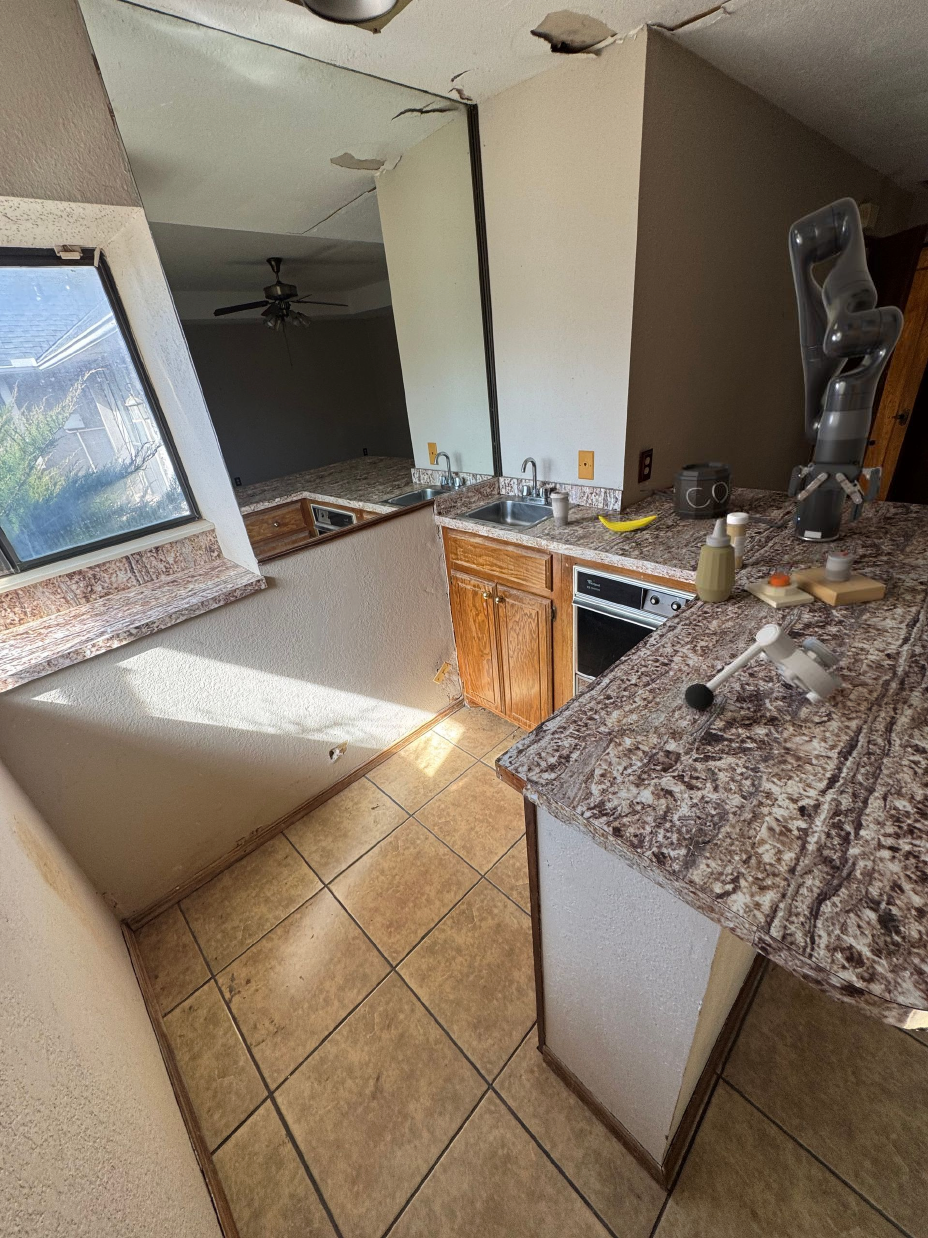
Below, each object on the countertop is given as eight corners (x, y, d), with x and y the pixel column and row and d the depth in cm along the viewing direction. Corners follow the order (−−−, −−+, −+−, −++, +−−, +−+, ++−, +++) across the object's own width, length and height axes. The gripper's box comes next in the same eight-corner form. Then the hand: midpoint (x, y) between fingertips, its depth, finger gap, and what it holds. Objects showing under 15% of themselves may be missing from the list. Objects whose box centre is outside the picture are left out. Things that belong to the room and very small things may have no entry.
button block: (744, 588, 110) (745, 576, 108) (778, 583, 110) (780, 571, 108) (775, 608, 100) (777, 595, 98) (813, 602, 100) (815, 589, 98)
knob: (840, 583, 99) (846, 559, 97) (819, 577, 103) (823, 554, 100) (854, 577, 100) (860, 553, 98) (832, 572, 104) (837, 549, 102)
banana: (657, 531, 154) (658, 512, 151) (596, 534, 161) (596, 515, 158) (657, 528, 157) (657, 509, 154) (597, 531, 163) (597, 513, 160)
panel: (790, 583, 109) (792, 570, 107) (833, 576, 109) (836, 563, 107) (833, 606, 97) (836, 592, 96) (882, 599, 97) (886, 584, 95)
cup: (573, 522, 177) (572, 489, 172) (567, 527, 173) (565, 494, 167) (555, 521, 181) (554, 489, 176) (548, 526, 176) (546, 494, 171)
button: (765, 582, 105) (766, 575, 104) (781, 579, 105) (782, 572, 104) (776, 588, 102) (777, 581, 101) (792, 585, 102) (794, 578, 101)
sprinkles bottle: (719, 564, 124) (723, 513, 118) (737, 562, 124) (742, 510, 118) (727, 570, 120) (733, 517, 114) (746, 568, 119) (752, 515, 114)
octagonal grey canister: (742, 515, 156) (747, 466, 149) (686, 523, 157) (688, 474, 151) (716, 503, 172) (720, 458, 165) (666, 510, 174) (667, 466, 167)
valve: (722, 731, 83) (667, 681, 80) (820, 653, 78) (765, 596, 74) (757, 770, 74) (695, 716, 70) (870, 684, 68) (810, 621, 65)
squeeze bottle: (731, 590, 110) (739, 513, 102) (736, 605, 103) (745, 524, 95) (692, 590, 113) (697, 515, 105) (695, 605, 106) (700, 526, 98)
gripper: (791, 439, 92) (779, 521, 99) (886, 436, 82) (865, 528, 89) (805, 432, 96) (792, 511, 103) (897, 429, 86) (876, 517, 93)
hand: (826, 519), depth 96 cm, fingers open, 8 cm apart
